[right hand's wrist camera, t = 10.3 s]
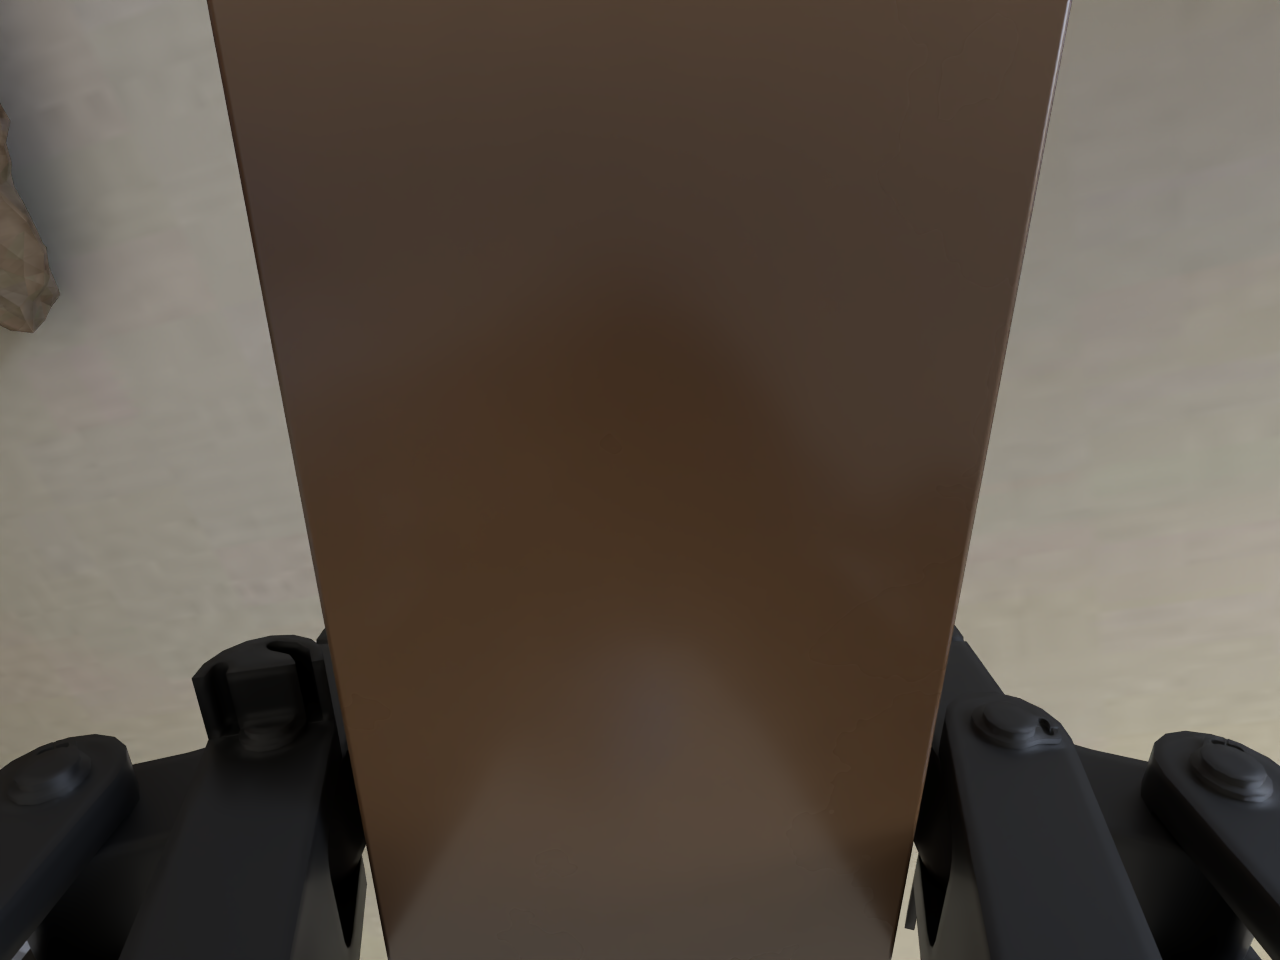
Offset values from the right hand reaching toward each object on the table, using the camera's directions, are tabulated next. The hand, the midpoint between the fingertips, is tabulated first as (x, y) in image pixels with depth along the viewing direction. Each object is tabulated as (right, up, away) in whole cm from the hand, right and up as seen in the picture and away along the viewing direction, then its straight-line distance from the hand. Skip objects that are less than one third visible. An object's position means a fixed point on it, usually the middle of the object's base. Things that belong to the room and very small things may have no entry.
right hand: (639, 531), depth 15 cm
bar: (0, +9, -3) cm, 10 cm away
